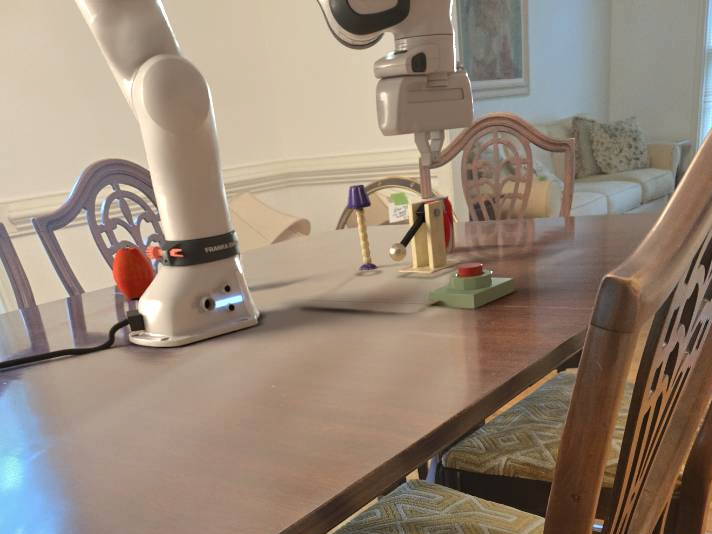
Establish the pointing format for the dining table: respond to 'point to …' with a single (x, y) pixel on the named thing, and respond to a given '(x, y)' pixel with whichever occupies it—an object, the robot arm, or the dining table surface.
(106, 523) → the dining table surface
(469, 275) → the button
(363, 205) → the toy lamp
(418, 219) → the lever
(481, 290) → the switch block
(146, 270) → the apple
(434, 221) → the bracket
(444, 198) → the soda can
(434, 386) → the dining table surface
